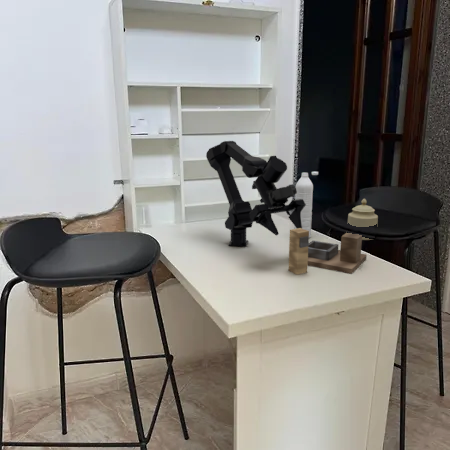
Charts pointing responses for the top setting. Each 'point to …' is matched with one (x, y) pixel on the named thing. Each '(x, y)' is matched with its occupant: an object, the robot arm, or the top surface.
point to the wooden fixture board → (337, 254)
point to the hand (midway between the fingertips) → (289, 232)
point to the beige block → (298, 251)
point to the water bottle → (305, 200)
